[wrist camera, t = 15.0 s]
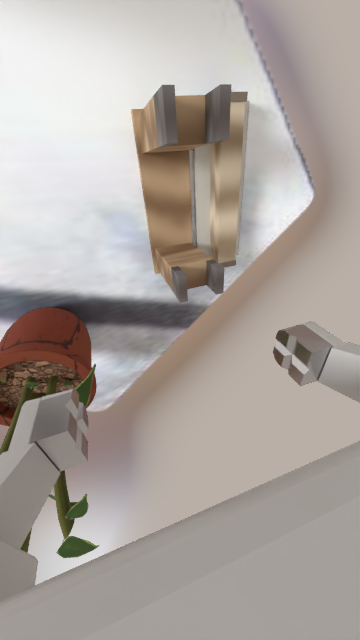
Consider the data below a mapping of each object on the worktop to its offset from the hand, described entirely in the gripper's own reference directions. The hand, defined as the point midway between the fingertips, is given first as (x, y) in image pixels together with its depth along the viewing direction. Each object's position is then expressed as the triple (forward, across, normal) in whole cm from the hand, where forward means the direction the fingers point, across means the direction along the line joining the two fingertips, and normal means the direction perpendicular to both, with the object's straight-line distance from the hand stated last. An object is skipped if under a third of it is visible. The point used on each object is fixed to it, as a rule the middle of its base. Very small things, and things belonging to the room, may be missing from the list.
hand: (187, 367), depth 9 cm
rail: (+30, -16, -2) cm, 35 cm away
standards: (+31, -8, -2) cm, 32 cm away
